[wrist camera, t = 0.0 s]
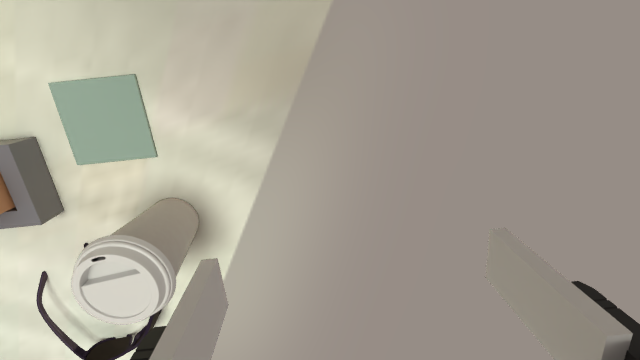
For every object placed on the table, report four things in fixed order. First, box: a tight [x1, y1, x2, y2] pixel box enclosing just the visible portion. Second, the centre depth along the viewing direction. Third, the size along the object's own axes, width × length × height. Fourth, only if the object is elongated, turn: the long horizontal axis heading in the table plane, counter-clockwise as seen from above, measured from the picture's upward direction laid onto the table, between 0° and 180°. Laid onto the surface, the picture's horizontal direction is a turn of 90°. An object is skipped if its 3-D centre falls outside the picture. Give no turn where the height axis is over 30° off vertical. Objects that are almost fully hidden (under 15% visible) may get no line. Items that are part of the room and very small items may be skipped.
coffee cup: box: [71, 198, 199, 325], centre depth 38 cm, size 10×10×15 cm
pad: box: [48, 74, 157, 165], centre depth 41 cm, size 10×10×1 cm
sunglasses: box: [37, 243, 162, 360], centre depth 47 cm, size 14×16×5 cm
